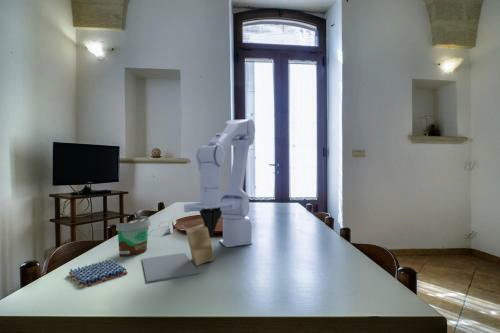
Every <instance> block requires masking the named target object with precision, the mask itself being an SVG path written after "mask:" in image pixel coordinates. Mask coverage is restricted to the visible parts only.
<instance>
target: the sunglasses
mask: <svg viewBox="0 0 500 333" xmlns="http://www.w3.org/2000/svg"><path fill="white" fill-rule="evenodd" d="M165 222H168V225H167V226H164V227H161V228H159V230H160V229H164V228H168V229H169V232H170V234H173V232H174V226H173V225H175V224H176V223H177V218H176V216H174V217H173V219H170V220H169V221H167V220H166V221H162V222H161V223H159V225H158V227H160V225H161V224H163V223H165ZM156 230H158V228H156V229H152V230H151V231H150V232H149V233H148V235H151V233H152V232H154V231H156Z"/></svg>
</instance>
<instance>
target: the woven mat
mask: <svg viewBox="0 0 500 333" xmlns="http://www.w3.org/2000/svg"><path fill="white" fill-rule="evenodd" d="M127 274H128V271H127V268H126V267H125V266H123V265H121V264H119V263H118V262H116V261H114V260H112V259H109V260H105V261H101V262H100V261H99V262H96V263H95V264H94V263H91V264H89V265H84V266H82V267H80V266H78V267H77V268H74V269H72V268H71V269H70V271H69V272H68V275H67V277H69V278H70V280H72V281H74V282H76V284H77V285H78V287H79V288H86V287H90V286H92V285H96V284H99V283H102V282H105V281H107V280H108V281H109V280H111V279H114V278H117V277H122V276H125V275H127Z"/></svg>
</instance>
